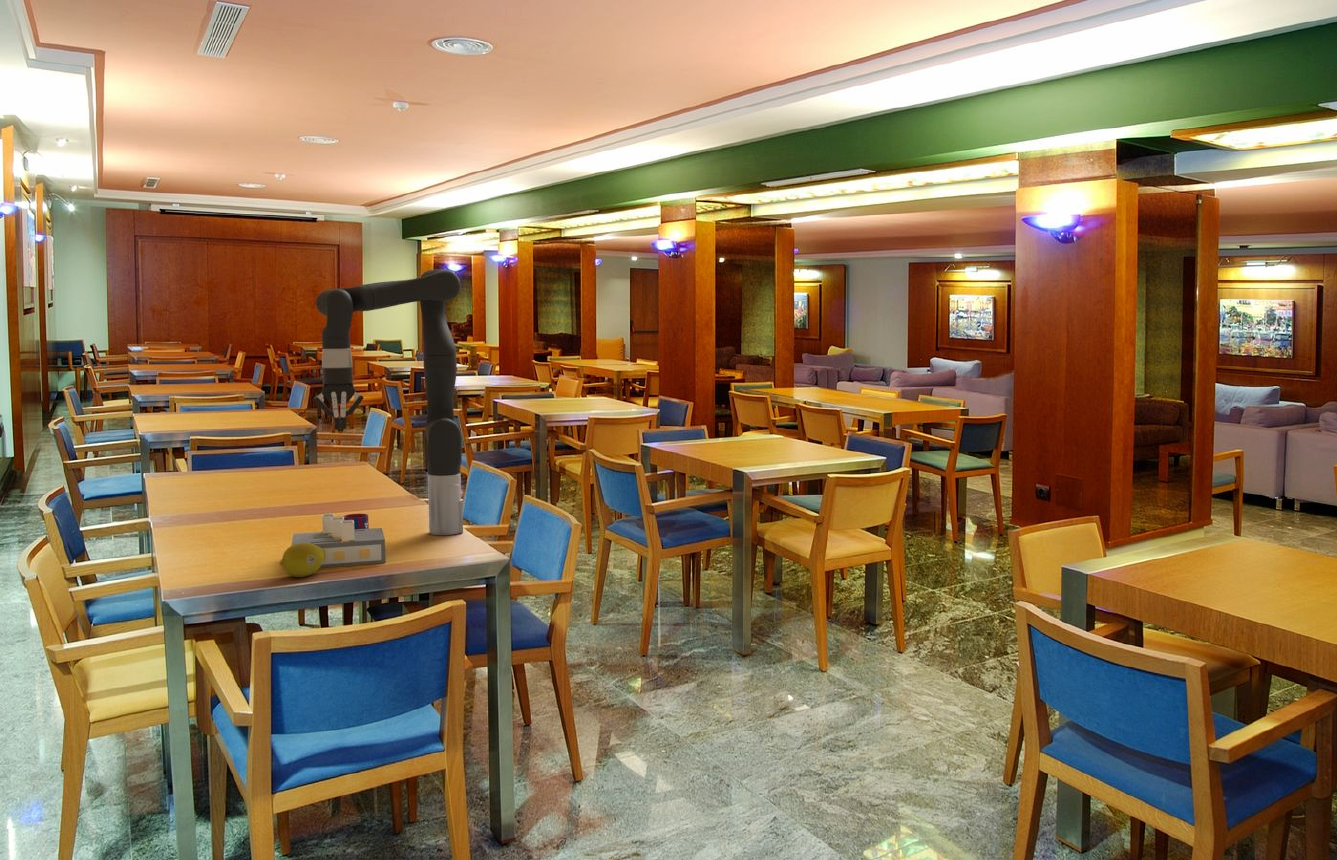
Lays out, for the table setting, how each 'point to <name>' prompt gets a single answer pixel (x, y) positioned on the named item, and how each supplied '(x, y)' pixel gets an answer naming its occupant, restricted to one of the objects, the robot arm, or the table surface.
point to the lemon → (302, 559)
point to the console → (347, 547)
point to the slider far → (327, 522)
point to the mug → (358, 520)
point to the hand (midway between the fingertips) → (340, 431)
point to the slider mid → (337, 526)
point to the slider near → (347, 530)
